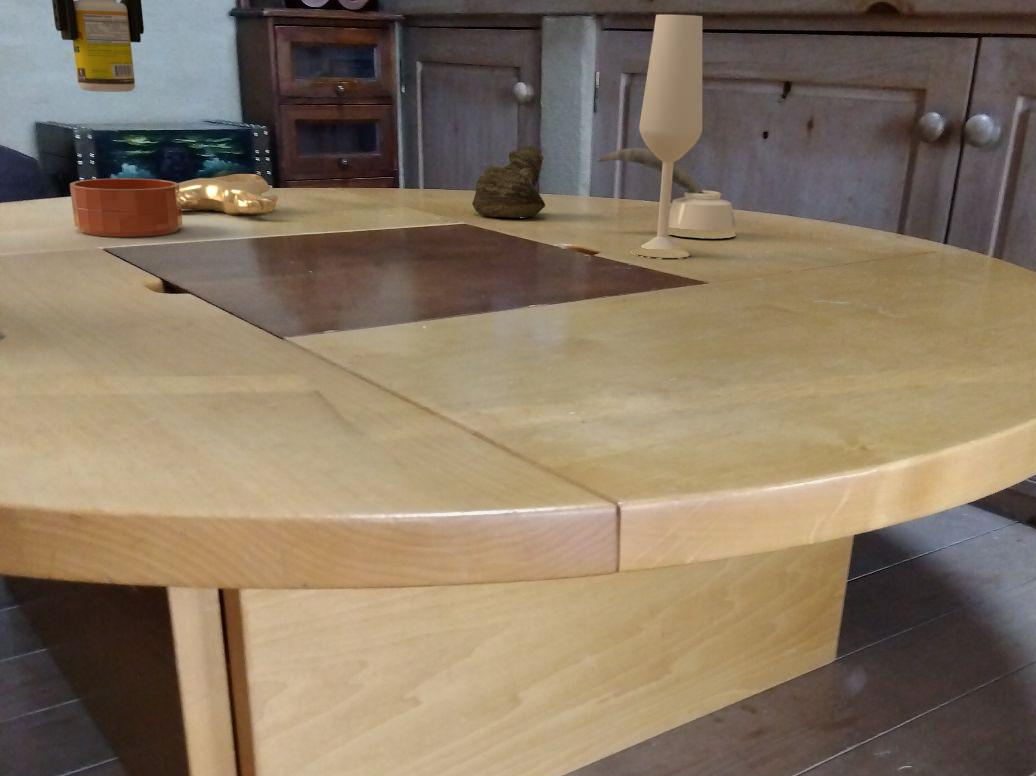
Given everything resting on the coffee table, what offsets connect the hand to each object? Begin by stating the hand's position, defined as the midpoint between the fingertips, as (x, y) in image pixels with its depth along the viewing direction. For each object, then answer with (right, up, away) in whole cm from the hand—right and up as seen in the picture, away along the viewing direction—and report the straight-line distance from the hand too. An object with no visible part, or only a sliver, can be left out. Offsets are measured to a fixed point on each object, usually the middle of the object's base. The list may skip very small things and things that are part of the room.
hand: (101, 39), depth 114 cm
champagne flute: (+58, -19, +11) cm, 62 cm away
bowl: (-2, -16, +13) cm, 20 cm away
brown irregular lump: (+39, -8, +35) cm, 53 cm away
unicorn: (+4, -10, +28) cm, 30 cm away
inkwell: (+60, -13, +25) cm, 66 cm away
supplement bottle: (0, -5, +2) cm, 5 cm away
